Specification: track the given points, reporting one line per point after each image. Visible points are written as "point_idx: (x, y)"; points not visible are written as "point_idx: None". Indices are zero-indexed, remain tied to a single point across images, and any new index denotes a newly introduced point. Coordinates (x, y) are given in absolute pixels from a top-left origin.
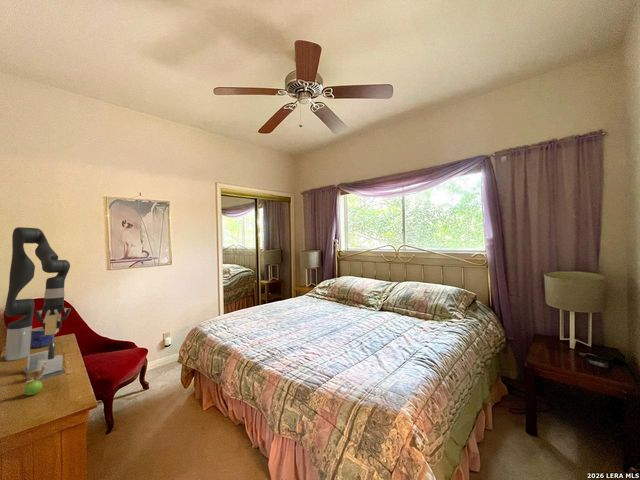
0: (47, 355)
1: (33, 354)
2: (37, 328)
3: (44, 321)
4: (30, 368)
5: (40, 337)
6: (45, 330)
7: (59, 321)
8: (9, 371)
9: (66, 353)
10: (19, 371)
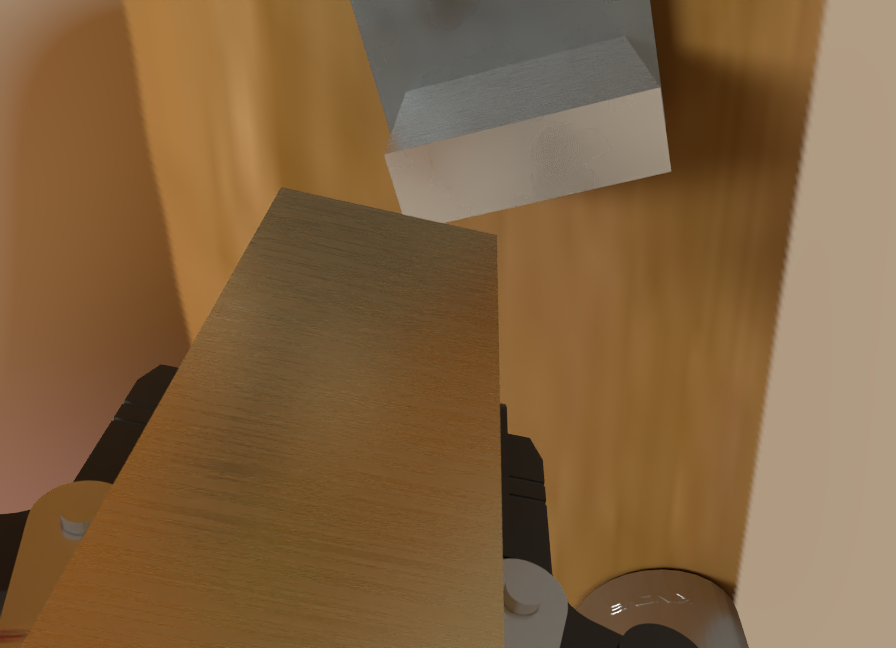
0: (442, 119)
1: (613, 129)
2: None
3: (529, 601)
4: (611, 40)
5: None
6: (486, 301)
7: None
8: (756, 257)
9: None
10: (685, 177)
